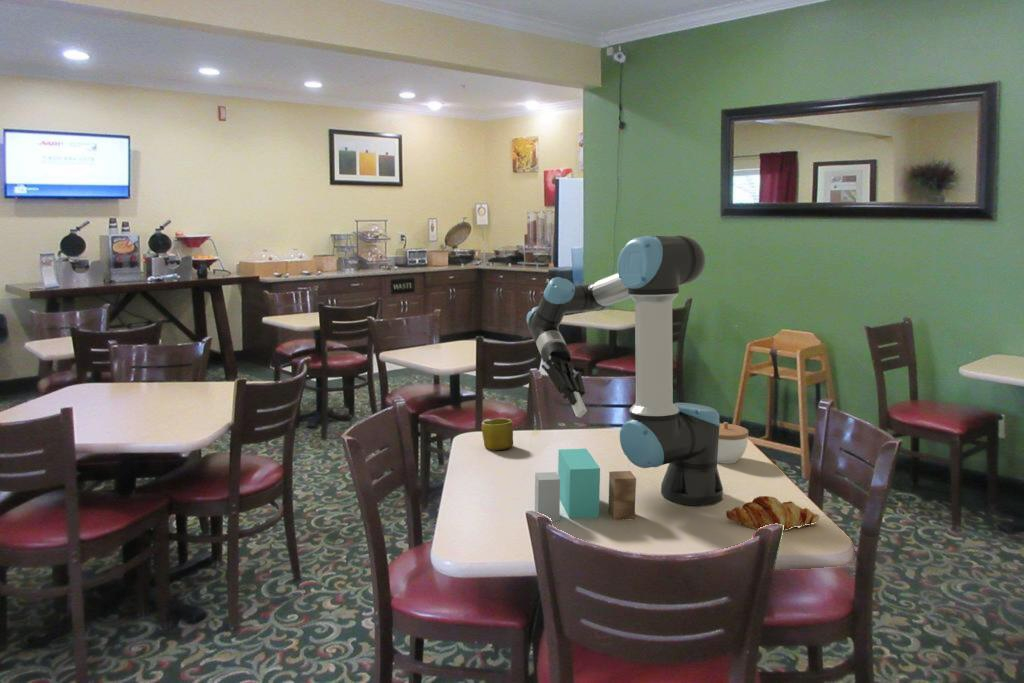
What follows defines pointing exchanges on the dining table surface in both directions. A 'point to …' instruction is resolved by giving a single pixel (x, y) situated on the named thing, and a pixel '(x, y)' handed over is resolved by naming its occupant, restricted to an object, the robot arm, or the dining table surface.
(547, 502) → the grey block
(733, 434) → the lidded bowl
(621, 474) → the walnut block
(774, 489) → the dining table surface
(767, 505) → the croissant
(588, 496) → the teal block
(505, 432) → the mug
